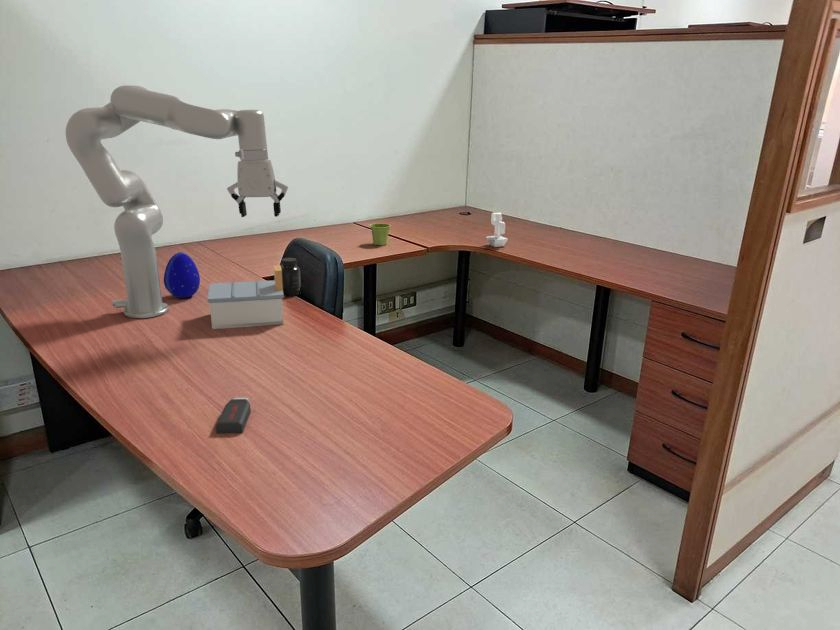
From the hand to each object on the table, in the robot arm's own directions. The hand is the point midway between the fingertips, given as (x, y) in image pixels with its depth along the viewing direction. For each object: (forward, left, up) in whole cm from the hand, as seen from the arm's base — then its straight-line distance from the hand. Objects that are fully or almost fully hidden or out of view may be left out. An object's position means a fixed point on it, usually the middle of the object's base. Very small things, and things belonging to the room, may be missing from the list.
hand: (260, 216), depth 180 cm
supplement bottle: (+8, +19, -31) cm, 37 cm away
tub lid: (-6, -3, -22) cm, 23 cm away
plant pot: (+52, +84, -31) cm, 103 cm away
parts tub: (-6, -3, -30) cm, 31 cm away
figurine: (+104, +73, -31) cm, 131 cm away
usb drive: (-8, -64, -31) cm, 72 cm away
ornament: (-26, +22, -31) cm, 45 cm away
